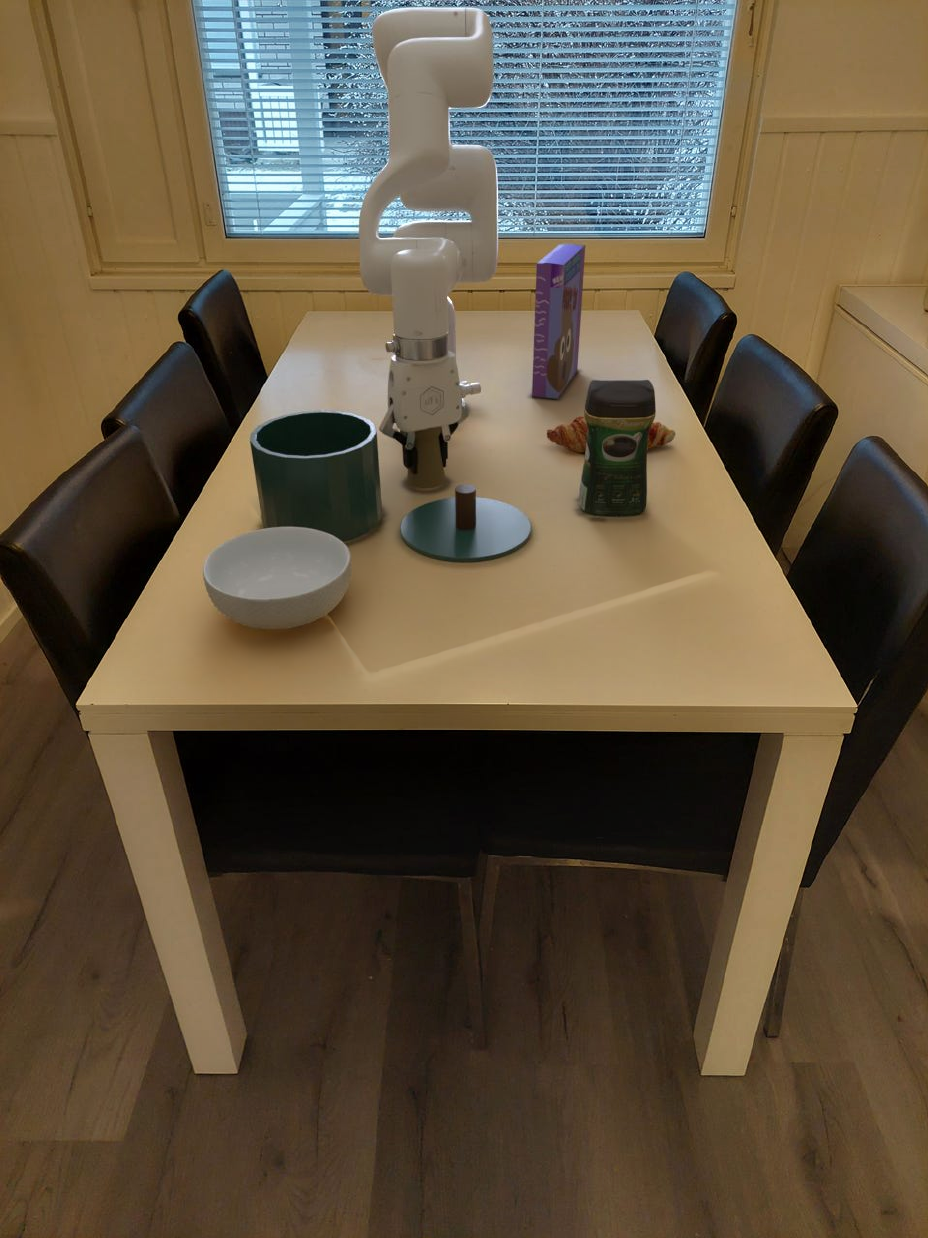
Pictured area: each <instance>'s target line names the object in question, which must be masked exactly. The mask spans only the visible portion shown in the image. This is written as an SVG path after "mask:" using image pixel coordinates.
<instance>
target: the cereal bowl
mask: <svg viewBox="0 0 928 1238" xmlns="http://www.w3.org/2000/svg"><path fill="white" fill-rule="evenodd" d="M351 575H352V557H351V552H350V550H349V548H348V546H347V545H346V544H345V543H344V542H342V541H341V540H339V539H338V538H336V537H335V536H333V535H331V534H328V533H325V532H322V531H319V530H315V529H310V528H303V527H274V528H265V529H264V528H260V529H255V530H251V531H248V532H244V533H241V534H238V535H236V536H234V537H231V538H230V539H227V540H225V541H223V542H222V543H220V544H219V545H217V547H215V548H214V549H213V550H212V551H211V552H210V553H209V554H208V555H207V556H206V558H205V560H204V562H203V566H202V576H203V577H202V578H203V582H204V586H205V591H206V593H207V595H208V597H209V599H210V602H211V603H212V604H213V606H214V607H215V608H216V609H217V610H218V611H219V612H220V613H221V614H222V615H224V616H225V617H226V618H228V619H230V620H231V621H233V622H235V623H236V624H240V625H243V626H245V627H250V628H253V629H259V630H283V629H291V628H297V627H301V626H304V625H308V624H310V623H313V622H314V621H318V620H319V619H321V618H323V617H325V616H326V615H328V614H329V613H331V612H332V611H334V609H335V608H336V607H337V606H338V605H339V604H340V603H341V601H342V600H343V598H344V596H346V594H347V591H348V588H349V586H350V583H351Z"/></svg>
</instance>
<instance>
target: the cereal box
mask: <svg viewBox="0 0 928 1238" xmlns="http://www.w3.org/2000/svg"><path fill="white" fill-rule="evenodd" d="M585 255H586V244H580V243H573V242H570V243H559V244H558V245H556V247H555V248H553V249H552V250H551V251H549V252H548V253H547V254H546V255H545V256H544V257H543V258H542V259H540V260H539V261H537V263H536V268H535V269H536V270H535V273H536V274H535V298H534V300H535V301H534V303H535V305H534V326H533V327H534V328H533V330H534V331H533V355H532V357H533V358H532V380H531V381H532V384H531V385H532V386H531V398H535V399H537V398H538V399H546V400H555V401H557V400H558V399H559V397H560V396H561V395H562V394H563V392H564V391H565V389H566V388H567V386H568V385H569V383H570V382H571V381H572V380H573V378H574V376H575V375H576V374H577V372H578V368H579V367H578V366H579V353H580V352H579V351H580V335H581V321H582V319H581V318H582V305H583V304H582V303H583V289H584V275H585V258H586V256H585Z"/></svg>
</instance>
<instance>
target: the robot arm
mask: <svg viewBox="0 0 928 1238" xmlns="http://www.w3.org/2000/svg"><path fill="white" fill-rule="evenodd" d="M371 33H372V34H371V35H372V36H371V37H372V38H371V39H372V45H373V46H372V47H373V50H374V56H375V60H376V64H377V66H378V70H379V73H380V75H381V78H382V81H383V83H384V86H385V88H386V91H387V110H388V111H387V112H388V113H387V115H388V161H387V162H386V164H385V165H384V167H383V168H382V169H381V170H380V172H379V173H378V174H377V175H376V176H375V177H374V179H373V180H372V183H371V184H370V185H369V187H368V189H367V191H366V193H365V195H364V198H363V200H362V202H361V203H362V204H361V207H360V212H359V217H358V218H359V219H358V257H359V259H358V260H359V262H358V263H359V272H360V273H359V274H360V278H361V283H362V285H363V286H364V288H365V289H366V291H368V292H369V293H371V294H372V295H376V296H391V298H392V299H391V302H392V319H393V334H392V340H390V341H389V342H385V345H384V347H385V351H386V353H388V354H389V353H393V354H394V355H392V356H391V358H390V363H389V369H388V370H389V371H388V376H387V377H388V378H387V380H388V381H387V411H386V413H385V415H384V417H383V419H382V421H381V423H380V425H379V427H378V430H379V432H380V433H381V434H382V435H384V436H386V437H388V438H391V439H393V440H395V441H396V442H398V443H400V445H401V448H402V464H403V466H404V468H405V469H407V471H408V470H409V468H410V470H411V473H413V474H416V473H417V465H418V453H417V449H416V448H414V440H415V433H414V432H415V431H420V430H425V429H429V428H434V427H440V426H442V429H441V433H440V435H439V442H440V450H441V458H442V464H443V468H444V469H445V468H447V460H448V459H449V442H450V441H451V439H452V435H453V434H454V432H455V431H456V430H457V429H458V427H459V426H460V425H461V424H462V423H463V422H465V421H466V419H468V417H469V412H468V411H467V409H466V401H465V399H464V398H466V397H467V396H469V395H471V396H472V395H476V394H477V395H478V394H480V393H481V392H482V386H481V383H480V382H475V383H468V381H467V380H466V381H460V375H459V369H458V364H457V328H456V319H457V318H456V310H455V307H454V304H453V302H452V300H451V299H450V297H449V296H448V295H450V294H452V292H453V291H454V290H455V288H456V287H457V285H458V284H480V283H485V282H486V283H487V282H489V281H490V280H492V279H493V278H494V277H495V275H496V273H497V269H498V260H499V186H498V185H499V184H498V169H497V168H498V167H497V163H496V159H495V156H494V153H492V151H491V149H489V148H487V147H485V146H483V145H479V144H453V143H452V142H451V129H450V128H451V127H450V126H451V125H450V124H451V123H450V122H451V121H450V119H451V116H450V115H451V114H450V113H451V112H450V110H452V109H455V110H456V109H480V108H484V107H485V106H486V105H487V104H488V103H489V101H490V100H491V96H492V93H493V85H494V74H495V73H494V72H495V61H494V44H493V43H494V42H493V30H492V24H491V20H490V18H489V15H487V13H486V12H485V11H484V10H483V9H481V8H477V7H427V6H426V7H419V6H418V7H400V8H394V9H389V10H386V11H384V12H382V13H380V14H378V15H377V16H376V17H375V19H374V21H373V25H372V32H371ZM397 198H400V202H401V203H402V206H404V207H405V208H407V209H408V210H411V211H416V212H463V213H464V212H465V213H466V214H468V215H469V217H470V220H418V221H417V220H416V221H411V222H410V221H409V222H407V223H404V224H401V225H400V226H399V227H398V228H396V230H395V231H394V233H393V234H392V237H382V238H381V237H379V236H380V235H379V234H380V233H379V232H380V231H379V230H380V223H381V219H382V216H383V214H384V213H385V210H386V209H387V208H388V207H389V206H390V205H391V204H392V203H393V202H394V201H396V199H397ZM394 424H396V427H397V428H398V429H399V430H398V429H397V428H394Z"/></svg>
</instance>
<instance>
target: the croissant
mask: <svg viewBox="0 0 928 1238" xmlns="http://www.w3.org/2000/svg"><path fill="white" fill-rule="evenodd" d="M676 435H677V433H676V431H675V430H674V429H670V428H668V427H667V426H666V425H665V424H663V423H662V422H660V421H656V422H653V423H652V425H651V426H650V429H649V433H648V442H647V450H649V449H652V448H654V447H655V446H657V447H658V446H659V447H662V446H664V445H667V444H670V443H671V442H673V441H674V439H675V437H676ZM546 438H547V439H548V440H549V441H550V442H551V443H554V444H556V445H559V446H562V447H564V448H566V449H567V450H570V451H573V452H577V453H586V444H587V423H586V420H585V417H584V415H580V416H576V417H575V418H574V419H573V420H572V421H571V423H569V424H568V423H561V424H559V425H557V426H556V427H554V428H553V429H551V428H549V429H547V430H546Z"/></svg>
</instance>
